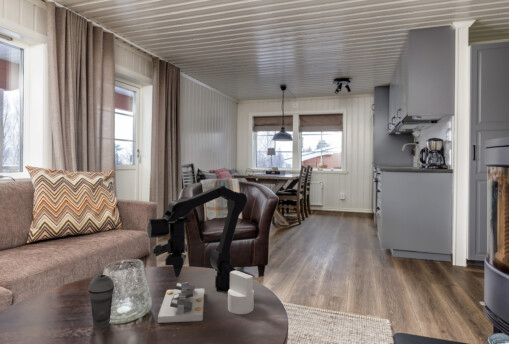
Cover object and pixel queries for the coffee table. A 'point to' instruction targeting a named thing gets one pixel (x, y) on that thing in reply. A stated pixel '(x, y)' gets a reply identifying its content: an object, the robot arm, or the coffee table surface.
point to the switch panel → (182, 307)
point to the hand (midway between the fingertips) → (177, 276)
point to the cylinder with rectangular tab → (240, 293)
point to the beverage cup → (101, 299)
